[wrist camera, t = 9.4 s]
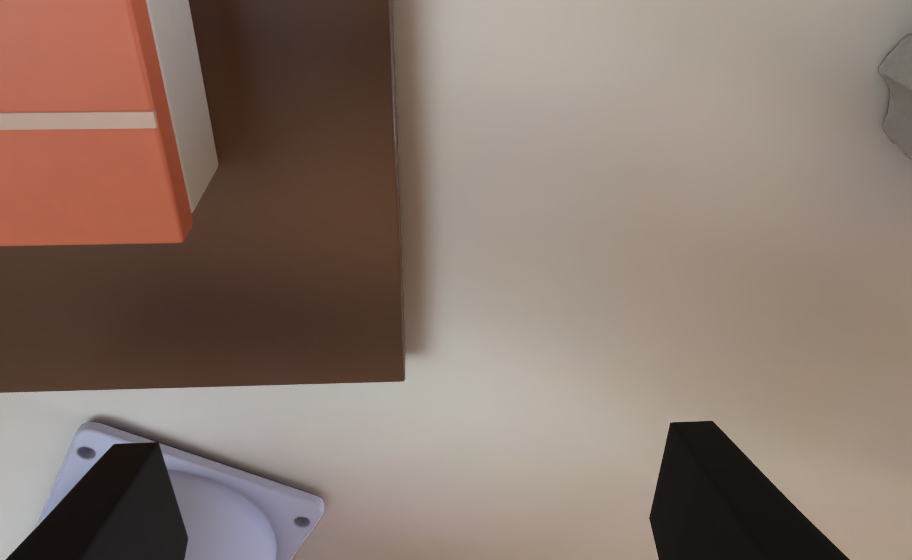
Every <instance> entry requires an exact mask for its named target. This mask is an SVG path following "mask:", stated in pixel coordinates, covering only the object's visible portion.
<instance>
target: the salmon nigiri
mask: <svg viewBox="0 0 912 560" xmlns="http://www.w3.org/2000/svg"><path fill="white" fill-rule="evenodd" d="M217 168H218V159H217V154H216V148H215V143H214V137H213V132H212V126H211V121H210V115H209V110H208V104H207V99H206V93H205V88H204V83H203V77H202V72H201V66H200V61H199V55H198V50H197V44H196V39H195V33H194V28H193V22H192V17H191V11H190V6H189V0H0V246H43V245H97V244H152V243H182V242H184V241H185V239H186V237H187V235H188V233H189V231H190V230H191V228H192V226H193V219H192V215H191V213H193V211H194V210H195V208H196V206H197V204H198V202H199V201H200V199H201V197H202V195H203V193H204V191H205V190H206V188H207V186H208V184H209V182H210V181H211V179H212V177H213V175H214V173H215V172H216V170H217Z"/></svg>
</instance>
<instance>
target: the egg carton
mask: <svg viewBox="0 0 912 560" xmlns="http://www.w3.org/2000/svg"><path fill="white" fill-rule="evenodd" d="M879 73H880V74H881V75H882V76H883V78H884V80H885V82H886V84H887V86H888V88H889V90H890V101H889V107H888V113H887V116H886V118H885V120H884V122H883V129H884V132H885V133H886V135H887V136H888V137H889V138H890V140H891V141H892V142H893V143H895V144H897V145H898V146H899V147H900V148H901V149H902V151H903V152H904V153H905V155H906V156H907V157H908V158H910V159H912V34H909V35H908V36H906V37H905V38H904V39H902V40H901V41H900V42H899V43H898V45H897V46H896V47H895V49H894V50H893V51H892V52H891V53H890V54H889V55H888V56H887V57H886V58H885V59H884V61H883V62H882V63H881V65H880V67H879Z"/></svg>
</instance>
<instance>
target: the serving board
mask: <svg viewBox="0 0 912 560" xmlns="http://www.w3.org/2000/svg"><path fill="white" fill-rule="evenodd" d="M189 6H190V11H191V17H192V22H193V28H194V33H195V39H196V44H197V50H198V55H199V61H200V66H201V72H202V77H203V83H204V88H205V93H206V99H207V104H208V110H209V115H210V121H211V126H212V132H213V137H214V143H215V148H216V154H217V159H218V168H217V170H216V172H215V173H214V175H213V177H212V179H211V181H210V182H209V184H208V186H207V188H206V190H205V191H204V193H203V195H202V197H201V199H200V201H199V202H198V204H197V206H196V208H195V210H194V211H193V213H191V215H192V219H193V226H192V228H191V230H190V231H189V233H188V235H187V237H186V239H185V241H184V242H182V243H152V244H97V245H43V246H0V393H3V392H39V391H75V390H111V389H147V388H184V387H220V386H256V385H292V384H328V383H364V382H400V381H404V380H405V332H404V304H403V277H402V250H401V222H400V195H399V167H398V140H397V112H396V85H395V58H394V30H393V3H392V0H189Z"/></svg>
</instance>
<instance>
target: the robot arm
mask: <svg viewBox="0 0 912 560" xmlns="http://www.w3.org/2000/svg"><path fill="white" fill-rule="evenodd" d="M86 447H89V448H91V449H88V448H86ZM323 512H324V501H323V500H322V499H321V498H320V497H318V496H316V495H313V494H310V493H307V492H304V491H301V490H298V489H295V488H292V487H289V486H286V485H283V484H280V483H277V482H274V481H271V480H268V479H265V478H262V477H259V476H256V475H253V474H250V473H247V472H244V471H241V470H239V469H236V468H233V467H230V466H227V465H224V464H221V463H218V462H215V461H212V460H209V459H206V458H203V457H200V456H197V455H194V454H191V453H188V452H185V451H182V450H179V449H176V448H173V447H170V446H167V445H164V444H161V443H159V442H155V441H152V440H149V439H146V438H143V437H140V436H137V435H134V434H131V433H128V432H125V431H122V430H119V429H116V428H113V427H110V426H107V425H104V424H101V423H97V422H87V423H84V424H82V425H81V426H80V427H79V429H78V430H77V432H76V434H75V436H74V438H73V441H72V443H71V446H70V448H69V450H68V453H67V455H66V457H65V460H64V462H63V464H62V467H61V469H60V471H59V474H58V476H57V479H56V481H55V483H54V486H53V488H52V490H51V493H50V495H49V497H48V500H47V502H46V505H45V507H44V509H43V512H42V514H41V516H40V519H39V521H38V523H37V526H36V528H35V530H34V531H33V532H32V533H31V534H30V535H29V536H28V537H27V538H26V539H25V540H24V541H23V542H22V543H21V544H20V545H19V546H18V547H17V548H16V550H15V551H14V552H13V553H12V554H11V555H10V556H9V557H8V558H7V559H6V560H291V559H292V558H293V556H294V555H295V554H296V552H297V551H298V549H299V548H300V547H301V545H302V544H303V542H304V541H305V540H306V538H307V537H308V535H309V534H310V533H311V531H312V530H313V528H314V527H315V526H316V524H317V523H318V521H319V520H320V519H321V517H322V515H323ZM303 517H304V518H303ZM650 522H651V527H652V531H653V535H654V540H655V544H656V548H657V553H658V557H659V560H849V559H848V558H847V557H846V556H845V555H844V554H843V553H842V552H841V551H840V550H839V549H838V548H837V547H836V546H835V545H834V544H833V543H832V542H831V541H830V540H829V539H828V538H827V537H826V536H825V535H824V534H823V533H822V532H821V531H820V530H818V529H817V528H816V527H815V526H814V525H813V524H812V523H811V522H810V521H809V520H808V519H807V518H806V517H805V516H804V515H803V514H802V513H801V512H800V511H799V510H798V509H797V508H796V507H795V506H794V505H793V504H792V503H791V502H790V501H789V500H788V499H787V498H786V497H785V496H784V495H783V494H782V493H781V492H780V491H779V489H778V488H777V487H776V486H775V485H774V484H773V483H772V482H771V481H770V480H769V479H768V478H767V477H766V476H765V475H764V474H763V473H762V472H761V471H760V470H759V469H758V468H757V467H756V466H755V465H754V464H753V463H752V462H751V460H750V459H749V458H748V457H747V456H746V455H745V454H744V453H743V452H742V451H741V450H740V449H739V448H738V447H737V446H736V445H735V444H734V443H733V442H732V441H731V440H730V439H729V438H728V436H727V435H726V434H725V433H724V432H723V431H722V430H721V429H720V428H719V427H718V426H717V425H716V424H715V423H714V422H713V421H700V422H674V423H670V427H669V431H668V436H667V440H666V445H665V449H664V454H663V459H662V463H661V468H660V472H659V477H658V481H657V486H656V490H655V495H654V500H653V504H652V509H651V513H650Z"/></svg>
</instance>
